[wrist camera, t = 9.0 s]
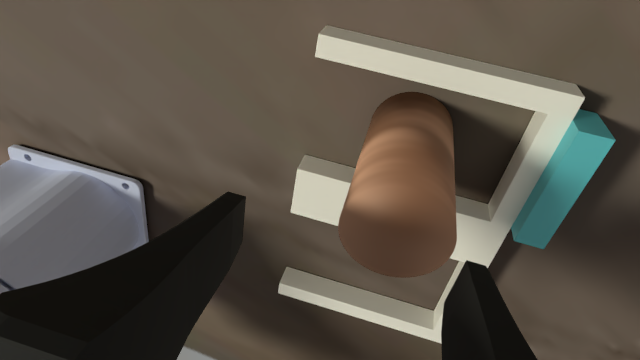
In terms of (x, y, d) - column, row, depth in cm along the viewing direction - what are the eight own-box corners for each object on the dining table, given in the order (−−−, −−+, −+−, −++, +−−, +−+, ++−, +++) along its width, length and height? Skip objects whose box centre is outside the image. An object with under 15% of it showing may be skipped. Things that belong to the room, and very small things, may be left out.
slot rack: (284, 276, 29) (272, 305, 27) (326, 24, 19) (312, 40, 17) (465, 331, 28) (467, 365, 26) (609, 92, 18) (630, 117, 16)
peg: (362, 153, 22) (329, 258, 16) (381, 83, 20) (350, 172, 14) (437, 173, 22) (434, 289, 16) (465, 103, 20) (475, 206, 13)
